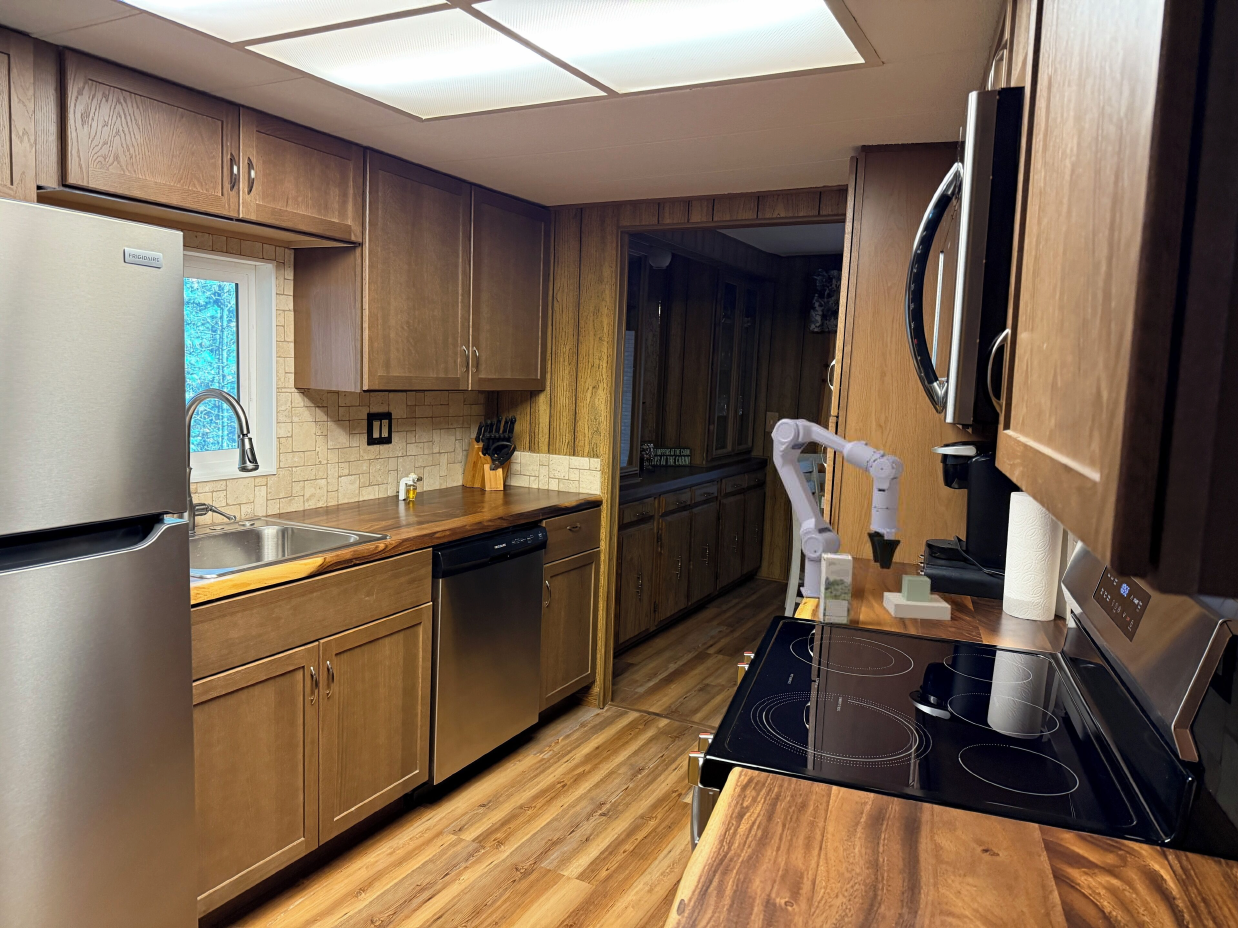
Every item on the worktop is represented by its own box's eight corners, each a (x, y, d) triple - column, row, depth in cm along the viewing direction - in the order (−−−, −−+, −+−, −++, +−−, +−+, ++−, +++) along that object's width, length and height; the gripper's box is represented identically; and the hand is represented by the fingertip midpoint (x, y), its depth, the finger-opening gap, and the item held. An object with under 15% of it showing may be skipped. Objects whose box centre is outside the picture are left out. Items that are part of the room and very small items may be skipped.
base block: (883, 604, 200) (883, 592, 200) (936, 607, 199) (936, 594, 199) (894, 616, 188) (894, 603, 188) (950, 620, 187) (951, 606, 187)
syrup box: (845, 618, 185) (848, 552, 184) (849, 625, 180) (853, 557, 179) (818, 617, 186) (821, 551, 185) (822, 623, 180) (825, 556, 179)
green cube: (901, 596, 196) (902, 574, 196) (924, 597, 195) (925, 575, 195) (906, 600, 191) (907, 578, 191) (929, 602, 190) (930, 580, 190)
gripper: (909, 512, 190) (906, 572, 191) (896, 505, 204) (892, 561, 205) (877, 510, 191) (874, 570, 192) (865, 503, 205) (863, 559, 206)
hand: (881, 565), depth 199 cm, fingers open, 7 cm apart
